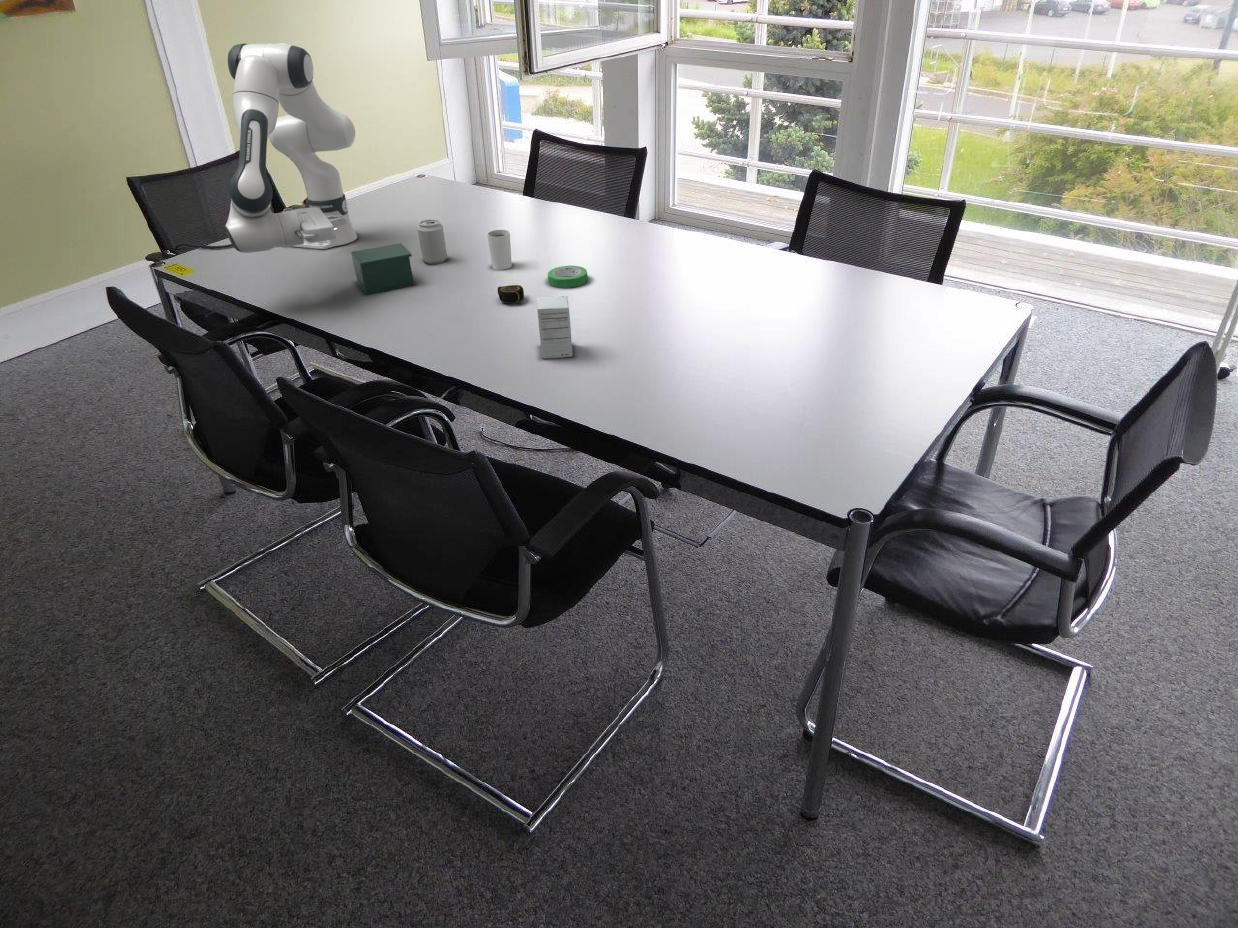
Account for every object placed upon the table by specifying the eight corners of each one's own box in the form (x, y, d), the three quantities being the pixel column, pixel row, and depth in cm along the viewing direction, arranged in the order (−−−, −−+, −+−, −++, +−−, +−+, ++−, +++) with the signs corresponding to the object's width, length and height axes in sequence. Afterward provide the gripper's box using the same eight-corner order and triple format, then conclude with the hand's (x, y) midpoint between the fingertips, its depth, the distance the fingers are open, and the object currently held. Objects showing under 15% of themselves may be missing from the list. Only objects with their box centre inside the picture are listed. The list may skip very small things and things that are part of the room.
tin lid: (401, 245, 252) (401, 243, 251) (411, 256, 243) (411, 253, 243) (351, 254, 246) (351, 251, 246) (360, 265, 238) (360, 263, 238)
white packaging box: (541, 346, 210) (536, 296, 203) (571, 344, 210) (568, 294, 203) (541, 359, 204) (536, 309, 197) (572, 357, 204) (569, 306, 197)
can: (450, 256, 267) (444, 217, 261) (443, 265, 261) (438, 225, 254) (426, 256, 268) (420, 217, 261) (419, 265, 262) (413, 225, 255)
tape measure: (523, 295, 238) (522, 282, 236) (525, 304, 232) (524, 291, 230) (498, 298, 237) (496, 284, 235) (500, 307, 231) (498, 294, 229)
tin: (403, 273, 256) (398, 245, 251) (413, 285, 247) (409, 256, 243) (357, 282, 251) (351, 254, 246) (366, 294, 242) (360, 266, 238)
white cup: (517, 264, 259) (514, 231, 254) (505, 271, 254) (502, 238, 249) (498, 261, 262) (494, 228, 256) (486, 268, 257) (482, 235, 251)
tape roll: (540, 282, 246) (539, 273, 244) (568, 271, 252) (567, 262, 251) (567, 291, 239) (567, 282, 238) (595, 279, 246) (595, 270, 245)
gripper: (296, 227, 221) (351, 217, 226) (283, 207, 237) (334, 199, 242) (302, 251, 225) (356, 241, 230) (289, 230, 240) (339, 221, 245)
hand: (345, 219), depth 236 cm, fingers closed
